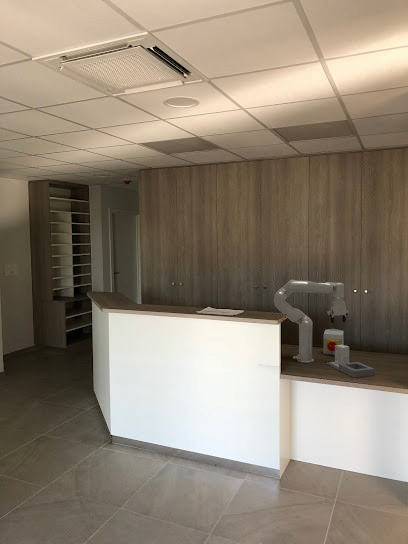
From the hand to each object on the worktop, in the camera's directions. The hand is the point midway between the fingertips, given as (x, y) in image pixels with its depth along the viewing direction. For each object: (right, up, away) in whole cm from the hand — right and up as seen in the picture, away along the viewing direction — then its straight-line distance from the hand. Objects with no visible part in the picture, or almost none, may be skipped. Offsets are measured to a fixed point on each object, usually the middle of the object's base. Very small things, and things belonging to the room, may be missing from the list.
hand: (338, 322), depth 335 cm
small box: (+1, -29, -7) cm, 30 cm away
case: (+3, -32, -15) cm, 35 cm away
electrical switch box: (+4, -29, +26) cm, 39 cm away
